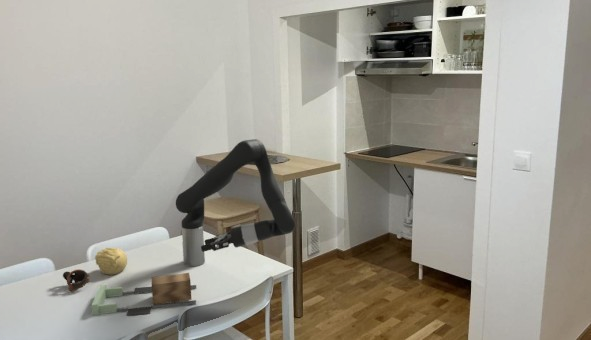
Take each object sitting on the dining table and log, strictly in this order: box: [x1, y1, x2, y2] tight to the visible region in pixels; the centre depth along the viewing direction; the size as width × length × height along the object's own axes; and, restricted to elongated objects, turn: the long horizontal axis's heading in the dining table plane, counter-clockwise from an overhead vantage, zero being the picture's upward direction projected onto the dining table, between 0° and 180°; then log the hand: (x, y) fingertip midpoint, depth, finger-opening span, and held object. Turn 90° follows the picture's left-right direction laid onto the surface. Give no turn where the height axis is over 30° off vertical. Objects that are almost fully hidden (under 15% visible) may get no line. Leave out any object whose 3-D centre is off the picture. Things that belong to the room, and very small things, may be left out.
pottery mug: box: [62, 269, 90, 293], centre depth 194 cm, size 12×10×8 cm
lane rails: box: [116, 284, 197, 313], centre depth 183 cm, size 28×14×1 cm, turn 101°
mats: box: [126, 285, 152, 317], centre depth 182 cm, size 8×22×1 cm, turn 11°
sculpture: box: [94, 247, 128, 276], centre depth 207 cm, size 12×12×11 cm
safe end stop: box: [91, 284, 123, 316], centre depth 180 cm, size 8×16×4 cm, turn 11°
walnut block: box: [151, 272, 192, 304], centre depth 183 cm, size 14×7×8 cm, turn 106°
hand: (203, 245), depth 183 cm, fingers open, 8 cm apart
